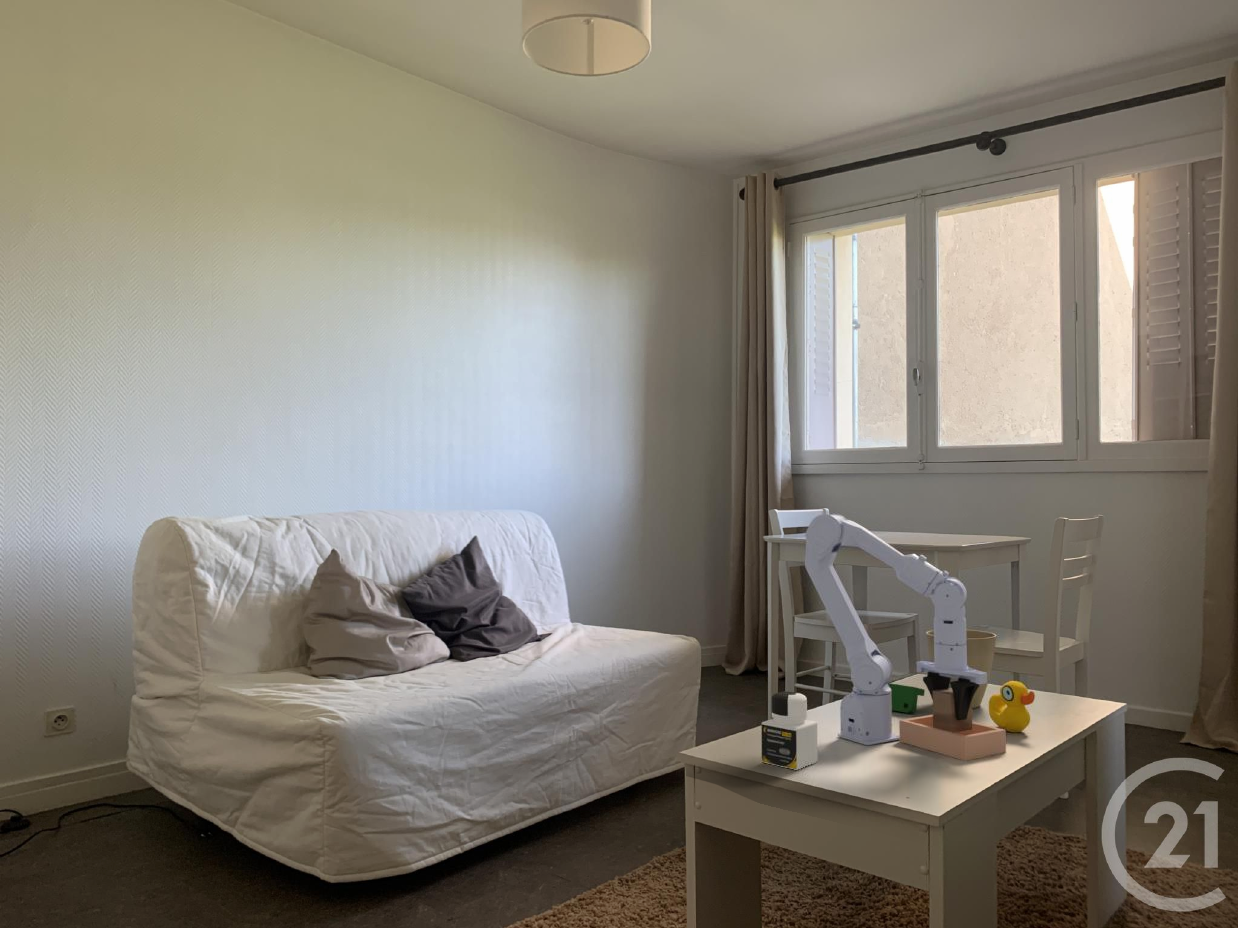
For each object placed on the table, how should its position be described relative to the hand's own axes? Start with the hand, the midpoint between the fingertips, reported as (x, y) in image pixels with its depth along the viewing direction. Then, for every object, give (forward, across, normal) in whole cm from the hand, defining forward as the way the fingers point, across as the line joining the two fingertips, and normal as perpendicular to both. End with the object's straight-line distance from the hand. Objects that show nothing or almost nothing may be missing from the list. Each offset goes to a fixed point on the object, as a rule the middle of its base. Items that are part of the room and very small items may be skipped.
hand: (951, 716), depth 170 cm
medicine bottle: (+6, +7, +33) cm, 34 cm away
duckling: (+6, +2, -20) cm, 21 cm away
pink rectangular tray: (+6, 0, 0) cm, 6 cm away
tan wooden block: (+2, 0, 0) cm, 2 cm away
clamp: (+6, +28, -15) cm, 32 cm away
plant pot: (+6, +23, -31) cm, 39 cm away
